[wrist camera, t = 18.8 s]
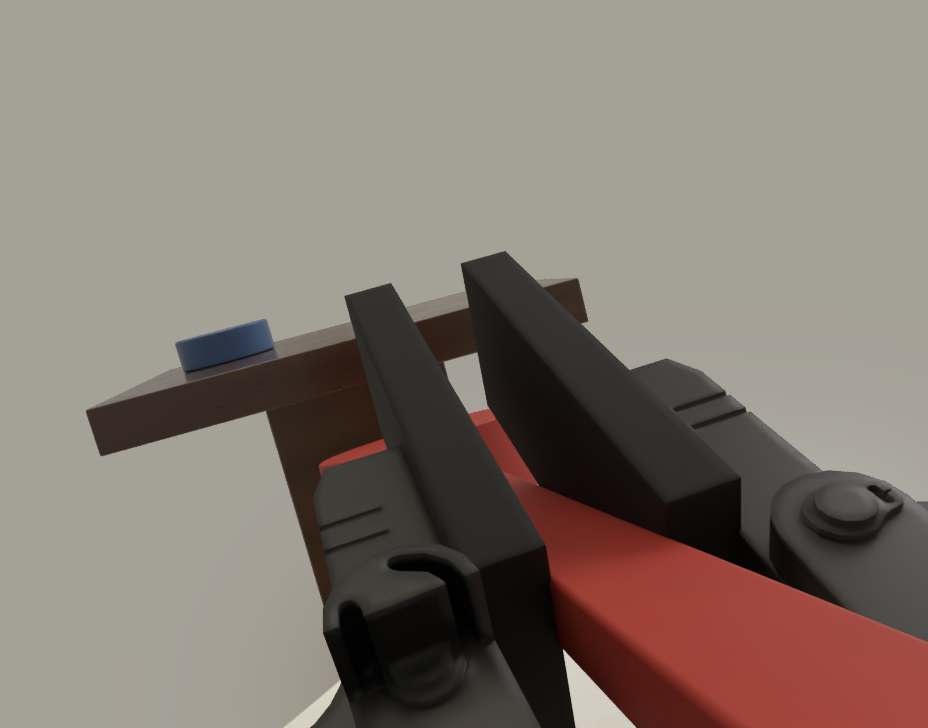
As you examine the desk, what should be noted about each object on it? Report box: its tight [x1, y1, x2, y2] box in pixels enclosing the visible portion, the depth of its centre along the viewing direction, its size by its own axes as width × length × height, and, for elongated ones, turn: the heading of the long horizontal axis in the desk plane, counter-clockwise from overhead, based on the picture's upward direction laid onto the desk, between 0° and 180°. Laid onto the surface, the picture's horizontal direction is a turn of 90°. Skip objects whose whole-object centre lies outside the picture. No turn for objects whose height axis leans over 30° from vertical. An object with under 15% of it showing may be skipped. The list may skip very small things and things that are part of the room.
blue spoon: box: [175, 319, 274, 372], centre depth 34 cm, size 10×4×1 cm, turn 9°
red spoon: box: [319, 409, 928, 728], centre depth 13 cm, size 22×6×2 cm, turn 11°
